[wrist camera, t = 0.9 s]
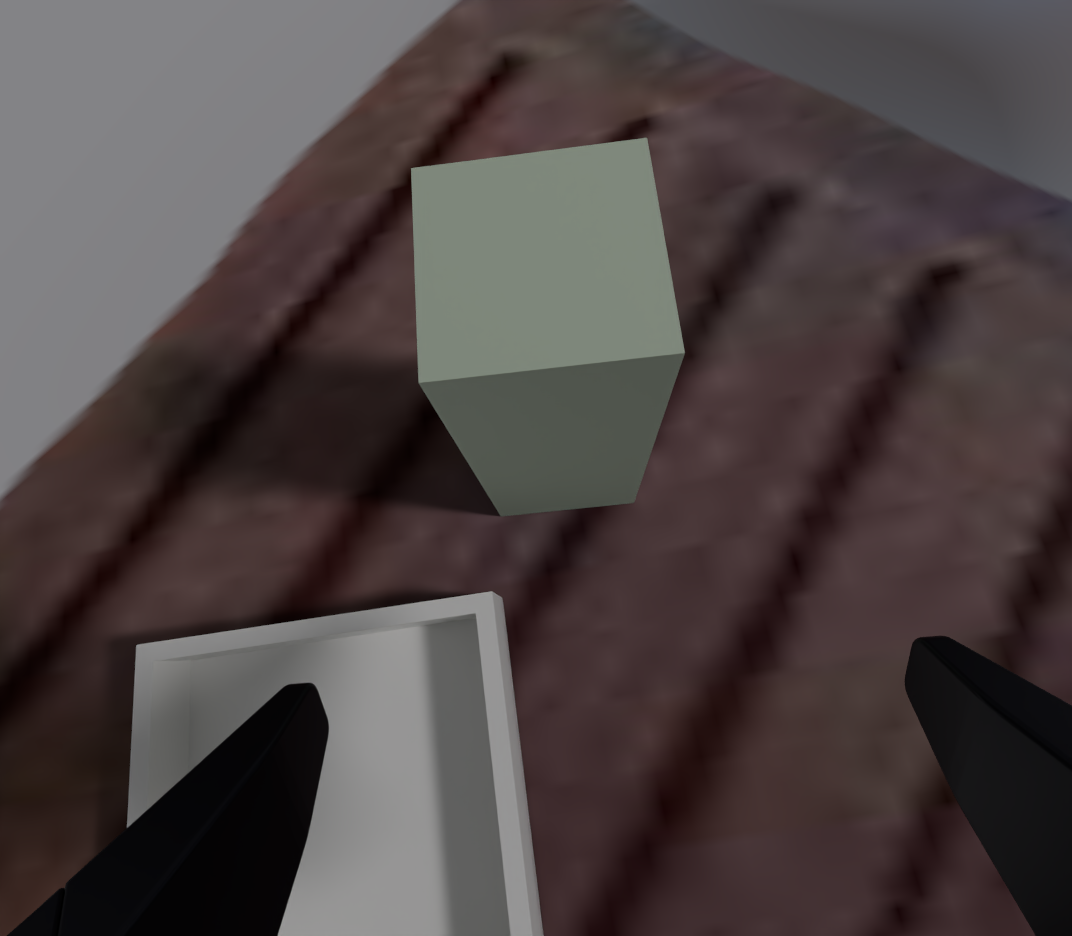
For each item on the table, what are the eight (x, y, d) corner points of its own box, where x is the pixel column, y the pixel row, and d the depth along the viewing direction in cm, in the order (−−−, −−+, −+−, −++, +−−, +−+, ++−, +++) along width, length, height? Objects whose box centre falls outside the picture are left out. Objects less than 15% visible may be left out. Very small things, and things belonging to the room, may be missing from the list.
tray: (549, 988, 19) (544, 1040, 16) (174, 1037, 19) (113, 1094, 17) (502, 598, 22) (492, 591, 20) (185, 645, 22) (136, 644, 20)
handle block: (633, 502, 23) (684, 352, 11) (500, 516, 23) (418, 382, 12) (617, 380, 24) (646, 137, 13) (491, 394, 24) (411, 168, 13)
